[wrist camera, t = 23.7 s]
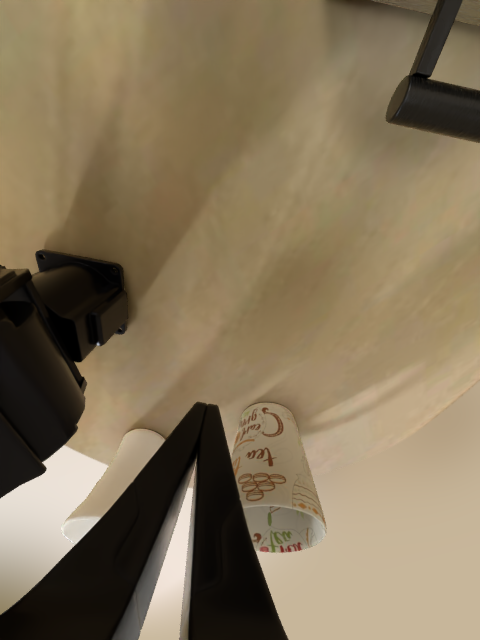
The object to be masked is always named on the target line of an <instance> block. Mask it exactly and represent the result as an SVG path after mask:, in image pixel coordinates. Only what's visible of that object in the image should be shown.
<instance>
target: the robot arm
mask: <svg viewBox="0 0 480 640" xmlns="http://www.w3.org/2000/svg"><path fill="white" fill-rule="evenodd" d="M35 255H36V260H37V264H38V268H39V272H37V273H35V274H33V275H31V273H30V271H29V269H6V267H5V266H1V265H0V498H1V497H3V496H4V495H6V494H7V493H9V492H10V491H12V490H14V489H15V488H17V487H18V486H19V485H22V484H24V483H26V482H28V481H30V480H32V479H34V478H36V477H38V476H40V475H42V474H43V473H45V471H46V467H45V466H44V464H43V463H42V462H43V461H45V460H47V459H48V458H49V457H51V456H52V455H53V454H54V453H55V452H56V451H58V450H59V449H60V448H61V447H62V446H63V445H65V444H66V443H67V442H68V440H69V439H70V438H71V437H72V436H73V435H74V434H75V432H76V431H77V429H78V427H77V425H76V424H77V423H78V421H79V419H80V417H81V415H82V413H83V411H84V409H85V397H84V395H83V394H84V391H85V388H86V386H87V382H86V380H85V378H84V377H82V376H81V374H80V372H79V370H78V368H77V366H76V365H75V363H74V362H82V361H83V360H84V359H85V358H86V356H87V355H88V354H89V353H90V352H91V351H92V350H93V349H94V348H95V347H96V346H102V345H104V344H105V343H106V342H107V341H108V340H109V339H110V338H111V336H112V335H113V334H114V333H115V334H124V333H125V331H126V330H127V319H128V305H127V293H126V291H125V290H124V277H123V268H122V267H121V266H120V265H119V264H117V263H113V262H107V261H102V260H97V259H92V258H87V257H81V256H76V255H71V254H66V253H60V252H55V251H50V250H45V249H42V250H39V251H37V252H36V254H35ZM43 255H44V256H45V258H46V259H45V258H44V257H43ZM113 268H115V269H117V272H115V271H114V269H113ZM120 328H121V329H122V330H121V329H120ZM196 459H197V460H196ZM195 463H196V466H195ZM194 467H195V476H194V486H193V497H192V508H191V519H190V530H189V541H188V551H187V561H186V573H185V584H184V594H183V605H182V615H181V625H180V638H179V640H288V638H287V635H286V633H285V631H284V629H283V626H282V624H281V621H280V619H279V616H278V613H277V611H276V608H275V605H274V603H273V600H272V597H271V594H270V591H269V588H268V585H267V583H266V580H265V577H264V574H263V571H262V569H261V566H260V563H259V560H258V557H257V554H256V551H255V548H254V545H253V542H252V539H251V536H250V533H249V529H248V526H247V522H246V518H245V514H244V511H243V506H242V502H241V500H240V494H239V490H238V486H237V482H236V478H235V474H234V469H233V465H232V461H231V457H230V453H229V449H228V445H227V440H226V436H225V432H224V428H223V424H222V420H221V415H220V411H219V407H218V406H217V405H214V404H208V405H207V404H206V403H202V402H196V403H195V404H194V405H193V407H192V408H191V409H190V410H189V412H188V413H187V414H186V415H185V417H184V418H183V419H182V420H181V422H180V423H179V424H178V425H177V426H176V428H175V429H174V430H173V431H172V433H171V434H170V435H169V436H168V438H167V439H166V440H165V441H164V443H163V444H162V445H161V446H160V448H159V449H158V450H157V451H156V453H155V454H154V455H153V456H152V458H151V459H150V460H149V461H148V463H147V464H146V465H145V466H144V468H143V469H142V470H141V471H140V472H139V474H138V475H137V476H136V477H135V479H134V480H133V482H131V483H130V485H129V486H128V487H127V488H126V490H125V491H124V492H123V493H122V495H121V496H120V497H119V498H118V499H117V501H116V502H115V503H114V504H113V505H112V506H111V508H110V509H109V510H108V511H107V512H106V513H105V514H104V515H103V516H102V517H101V519H100V520H99V521H98V522H97V523H96V524H95V525H94V526H93V527H92V528H91V529H90V530H89V531H88V532H87V533H86V534H85V535H84V537H83V538H82V539H81V540H80V541H79V542H78V543H77V544H76V545H75V546H74V547H73V548H72V549H71V550H70V551H69V552H68V553H67V554H66V555H65V556H64V557H63V558H62V559H61V560H60V561H59V562H58V563H57V564H56V565H55V566H54V568H53V569H52V570H51V571H50V572H49V573H48V574H47V575H46V576H45V577H44V578H43V579H42V580H41V581H40V582H39V583H38V584H36V585H35V586H34V587H33V588H32V589H31V590H30V591H29V592H28V593H27V594H26V595H24V596H23V597H22V598H21V599H20V600H19V601H18V602H16V603H15V604H14V605H13V606H12V607H10V608H9V609H8V610H6V611H5V612H4V613H2V614H1V615H0V640H138V639H139V636H140V630H141V629H142V626H143V623H144V620H145V617H146V614H147V611H148V608H149V605H150V602H151V599H152V596H153V593H154V589H155V586H156V583H157V580H158V577H159V574H160V571H161V568H162V565H163V562H164V559H165V556H166V553H167V550H168V546H169V544H170V540H171V537H172V534H173V531H174V528H175V525H176V522H177V519H178V516H179V513H180V509H181V507H182V504H183V500H184V497H185V494H186V491H187V488H188V485H189V482H190V479H191V476H192V473H193V470H194Z"/></svg>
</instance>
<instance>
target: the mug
mask: <svg viewBox="0 0 480 640" xmlns="http://www.w3.org/2000/svg"><path fill="white" fill-rule="evenodd" d="M231 461H232V465H233V469H234V474H235V478H236V482H237V486H238V490H239V494H240V500H241V502H242V506H243V511H244V514H245V518H246V522H247V526H248V529H249V533H250V536H251V539H252V542H253V545H254V548H255V550H256V551H262V552H275V553H281V552H294V551H300V550H304V549H307V548H310V547H313V546H315V545H317V544H318V543H320V542H321V541H322V540H323V539H324V537H325V535H326V522H325V518H324V515H323V512H322V508H321V505H320V501H319V498H318V495H317V491H316V488H315V485H314V481H313V478H312V475H311V471H310V468H309V465H308V462H307V458H306V455H305V452H304V448H303V445H302V442H301V438H300V435H299V432H298V428H297V425H296V422H295V419H294V416H293V414H292V413H291V412H290V411H289V410H288V409H287V408H285V407H284V406H282V405H279V404H275V403H258V404H254V405H252V406H250V407H248V408H247V409H246V410H245V411H244V412H243V413H242V415H241V418H240V422H239V426H238V430H237V435H236V439H235V444H234V448H233V453H232V457H231Z"/></svg>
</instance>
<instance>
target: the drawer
mask: <svg viewBox="0 0 480 640" xmlns="http://www.w3.org/2000/svg"><path fill="white" fill-rule="evenodd" d="M371 1H376V2H380V3H384V4H388V5H392V6H397V7H401V8H405V9H409V10H413V11H418V12H422V13H426V14H430V15H432V17H431V19H430V22H429V25H428V27H427V30H426V32H425V35H424V37H423V40H422V43H421V45H420V48H419V50H418V53H417V55H416V58H415V61H414V63H413V66H412V68H411V71H410V74H409V75H408V76H406V77H405V78H404V79H403V80H402V81H401V82H400V84H399V85H398V87H397V88H396V90H395V92H394V94H393V96H392V98H391V100H390V103H389V105H388V109H387V112H386V121H387V122H388V123H390V124H395V125H399V126H404V127H409V128H413V129H418V130H422V131H427V132H431V133H436V134H440V135H445V136H449V137H454V138H459V139H463V140H468V141H472V142H477V143H480V90H475V89H471V88H466V87H462V86H458V85H453V84H449V83H444V82H440V81H436V80H431V79H427V78H429V77H430V76H431V75H432V72H433V70H434V68H435V65H436V63H437V61H438V58H439V56H440V54H441V51H442V49H443V46H444V44H445V42H446V39H447V37H448V35H449V32H450V30H451V27H452V25H453V23H454V20H456V21H460V22H464V23H468V24H473V25H477V26H480V0H371Z"/></svg>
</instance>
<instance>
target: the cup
mask: <svg viewBox="0 0 480 640" xmlns="http://www.w3.org/2000/svg"><path fill="white" fill-rule="evenodd" d="M164 441H165V439H164V438H163V437H162V436H161V435H160V434H158V433H156V432H154V431H152V430H147V429H135V430H131V431H129V432H128V433H127V434H125V435H124V437H123V439H122V442H121V445H120V447H119V449H118V451H117V453H116V455H115V457H114V458H113V460H112V462H111V463H110V465H109V467H108V468H107V470H106V472H105V473H104V475H103V476H102V477H101V479H100V480H99V481H98V482H97V483H96V485H95V487H94V488H93V490H92V491H91V493H90V494H89V495H88V497H87V498H86V499H85V500H84V502H82V503H81V504H80V506H78V507H77V509H76V510H75V511H74V512H73V513H72V514H71V515H70V516H69V517H68V518H67V519H66V521H65V522H64V523H63V524H62V533H63V535H64V536H65V537H66V538H67V539H68V540H69V541H70V542H72V543H73V544H75V545H76V544H77V543H78V542H79V541H80V540H81V539H82V538H83V537H84V535H85V534H86V533H87V532H88V531H89V530H90V529H91V528H92V527H93V526H94V525H95V524H96V523H97V522H98V521H99V520H100V519H101V517H102V516H103V515H104V514H105V513H106V512H107V511H108V510H109V509H110V508H111V506H112V505H113V504H114V503H115V502H116V501H117V499H118V498H119V497H120V496H121V495H122V493H123V492H124V491H125V490H126V488H127V487H128V486H129V485H130V483H131V482H133V480H134V479H135V477H136V476H137V475H138V474H139V472H140V471H141V470H142V469H143V468H144V466H145V465H146V464H147V463H148V461H149V460H150V459H151V458H152V456H153V455H154V454H155V453H156V451H157V450H158V449H159V448H160V446H161V445H162V444H163V443H164Z"/></svg>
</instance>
